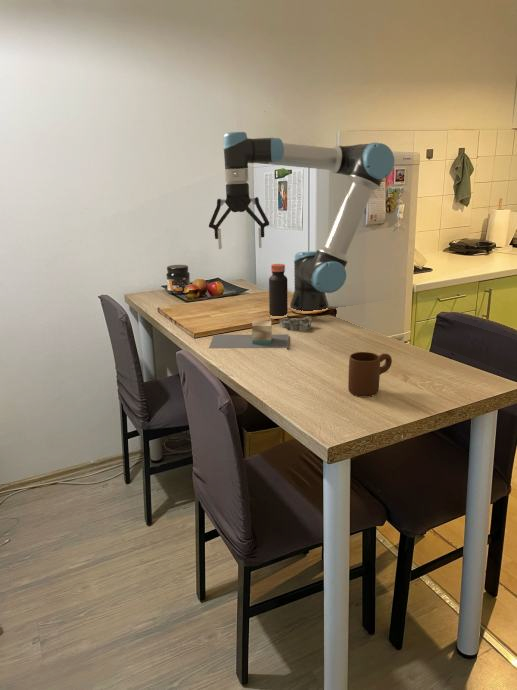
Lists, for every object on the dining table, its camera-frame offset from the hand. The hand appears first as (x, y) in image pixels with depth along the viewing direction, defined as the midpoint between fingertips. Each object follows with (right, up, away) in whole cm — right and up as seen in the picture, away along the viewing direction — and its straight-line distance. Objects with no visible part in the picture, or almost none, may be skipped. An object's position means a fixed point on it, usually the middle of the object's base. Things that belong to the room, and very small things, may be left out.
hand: (240, 248), depth 184 cm
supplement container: (-30, -9, +65) cm, 72 cm away
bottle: (+14, -23, +20) cm, 33 cm away
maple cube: (+7, -26, -10) cm, 29 cm away
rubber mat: (+3, -32, -8) cm, 33 cm away
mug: (+35, -45, -47) cm, 73 cm away
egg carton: (+19, -27, +7) cm, 34 cm away
